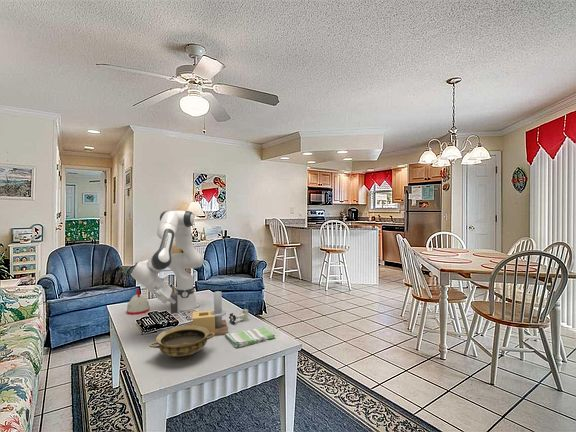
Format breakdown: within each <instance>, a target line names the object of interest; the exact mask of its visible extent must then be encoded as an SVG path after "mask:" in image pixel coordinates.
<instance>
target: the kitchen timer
mask: <svg viewBox="0 0 576 432" xmlns="http://www.w3.org/2000/svg"><path fill="white" fill-rule="evenodd" d="M149 304H150V303H149V300H148V299H147V298H146V296H145V295H142V294H141V293H140V290H139V289H136V291H135V294H134V295H133V296H132V297H131V299H129V301H128V302H127V307H126V313H127V315H130V316H134V315H142V314H146V313H147V312H149V311H150V305H149Z"/></svg>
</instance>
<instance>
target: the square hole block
mask: <svg viewBox="0 0 576 432" xmlns="http://www.w3.org/2000/svg"><path fill="white" fill-rule="evenodd" d="M222 295H223V294H222V291H219V290H217V291H214V292H213V309H208V310H197V311H192V323H193V326H201V327H204V328H206V329H208V331H215V327H216V328H219V327H222V320H223V317H224V316H226V315H227V312H226V311H225V310H223V309H222V308H223V307H222V306H223V304H222V303H223V299H222V298H223V297H222Z"/></svg>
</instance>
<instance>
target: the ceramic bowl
mask: <svg viewBox="0 0 576 432" xmlns="http://www.w3.org/2000/svg"><path fill="white" fill-rule="evenodd" d="M208 335H212V336H210V337H207V336H208ZM214 335H215V333H209V331H208V329H206V328H204V327H201V326H192V325H191V326H186V325H183V326H182V325H181V326H175V327H173V328H169V329H166V330H164V331H162V332H161V333H158V335H157V336H156V339H155V341H156V342H152V343H149V345H148V346H149V347H150V348H153V349H159V351H160V352H161V353H162V354H164V355H166V356H170V357H175V358H176V359H186V358H187V359H188V358H189V357H191V356H192V355H193V354H195V353H197V352H200V350H201V349H203V348H204V347H205V346H206V344H207V342H208V341H209V340H210V339H213V338H214V337H215V336H214Z"/></svg>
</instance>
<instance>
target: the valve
mask: <svg viewBox="0 0 576 432" xmlns="http://www.w3.org/2000/svg"><path fill="white" fill-rule="evenodd" d="M249 316H250V314H249V309H247V308H243V309H242V313H239V315H235V314H234V313H233V312H232V313H229V317H228V319H230V320H229V323H231V324H232V325H234V324H236V321H237V319H240V320H241V319H242V321H243V322H246V321H249Z"/></svg>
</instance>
